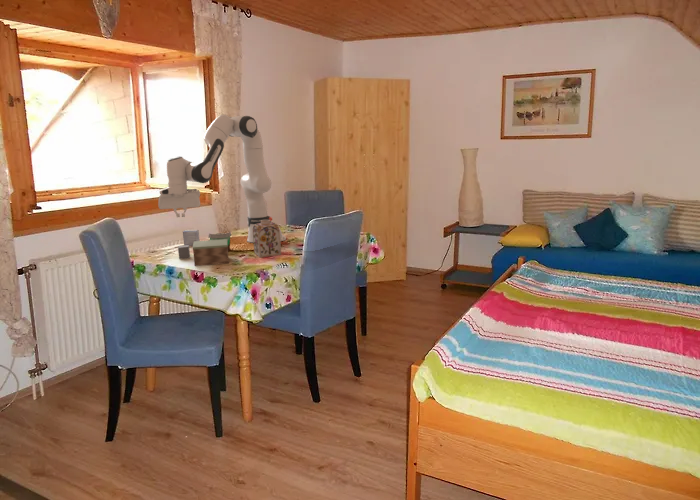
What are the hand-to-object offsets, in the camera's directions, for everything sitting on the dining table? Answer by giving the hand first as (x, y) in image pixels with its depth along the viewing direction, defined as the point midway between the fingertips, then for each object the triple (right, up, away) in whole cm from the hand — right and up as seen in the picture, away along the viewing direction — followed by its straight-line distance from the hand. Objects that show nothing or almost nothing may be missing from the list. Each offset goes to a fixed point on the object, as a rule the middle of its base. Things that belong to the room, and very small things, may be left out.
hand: (180, 216), depth 275 cm
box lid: (+17, -14, -7) cm, 23 cm away
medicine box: (-4, -14, +34) cm, 37 cm away
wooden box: (+17, -23, -6) cm, 29 cm away
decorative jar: (+43, -19, +7) cm, 48 cm away
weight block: (0, -21, +5) cm, 21 cm away
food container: (+17, -18, +16) cm, 30 cm away
